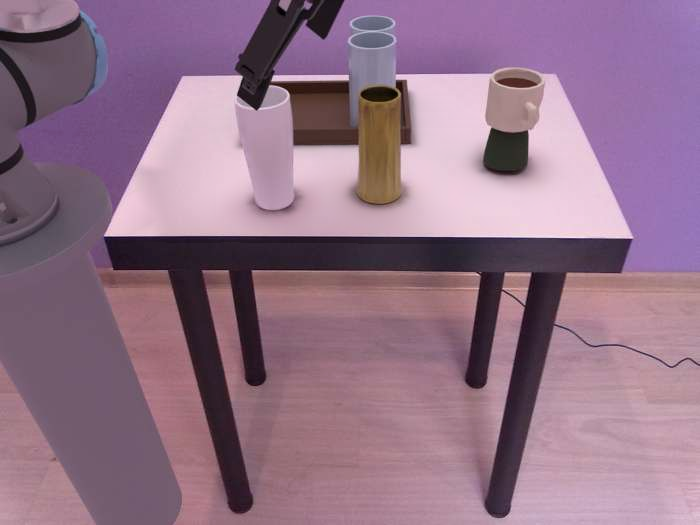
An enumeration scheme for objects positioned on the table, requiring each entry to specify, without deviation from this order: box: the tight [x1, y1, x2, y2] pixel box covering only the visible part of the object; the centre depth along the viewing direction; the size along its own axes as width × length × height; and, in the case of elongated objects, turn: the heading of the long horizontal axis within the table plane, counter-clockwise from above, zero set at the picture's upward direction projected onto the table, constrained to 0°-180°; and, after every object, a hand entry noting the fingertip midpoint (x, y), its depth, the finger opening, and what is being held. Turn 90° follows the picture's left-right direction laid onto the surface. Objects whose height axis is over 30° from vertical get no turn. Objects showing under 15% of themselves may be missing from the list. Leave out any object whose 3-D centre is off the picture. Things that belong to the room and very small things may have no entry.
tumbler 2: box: [347, 31, 398, 127], centre depth 94 cm, size 7×7×14 cm
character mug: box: [482, 66, 546, 172], centre depth 85 cm, size 11×7×13 cm, turn 15°
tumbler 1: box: [349, 14, 396, 38], centre depth 100 cm, size 7×7×14 cm
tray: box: [270, 79, 412, 146], centre depth 101 cm, size 26×18×3 cm
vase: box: [356, 85, 403, 205], centre depth 80 cm, size 6×6×14 cm
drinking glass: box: [233, 85, 295, 211], centre depth 79 cm, size 7×7×15 cm
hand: (283, 64), depth 70 cm, fingers open, 13 cm apart
